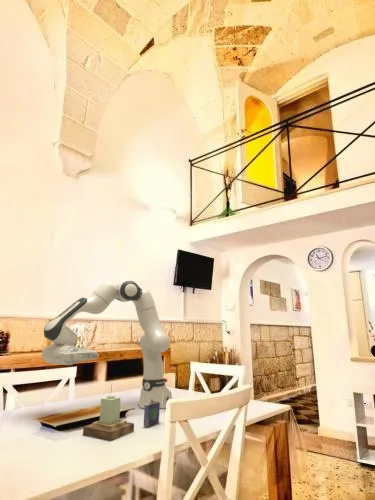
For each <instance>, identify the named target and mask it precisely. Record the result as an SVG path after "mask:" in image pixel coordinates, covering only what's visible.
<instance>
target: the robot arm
mask: <svg viewBox="0 0 375 500" xmlns="http://www.w3.org/2000/svg"><path fill="white" fill-rule="evenodd" d="M115 299H116V300H117V301H120V302H132V303H133V304H134V306H135V311H136V315H137V319H138V323H139V326H140V327H141V329H142V330H143V332H144V333H143V334H142V336H141V337H140V339H139V344H140V345H139V346H140V348H141V351H142V352H141V353H142V359H143V377H142V380H141V385H142V387H141V389H140V395H139V402H137V405H138V407H139V408H141V409H144V405H145V404H148V403H150V400H151V398H152V399H154V400H153V401H158V402H160V407H159V409H167V408H166V403H167V401H168V400H169V399H172V400H173V398H172V392H171V390H170V389H169V388H168V387H167V386H166V383H168V381H169V380H168V378H165V377H164V373H165V372H164V370H165V369H164V365H165V363H164V361H163V357H162V354H161V353H164V352H167V350H168V349H169V348H170V347H171V339H170V337H169V335H168V334H167V333H166V332H165V329H164V328H163V326H162V323H161V321H160V318H159V315H158V312H157V307H156V304H155V300H154V298H153V296H152V294H151V291H149V290H148V289H142V288H141V287H140V286H139V285H138V283H136V282H135V281H132V280H126V281H123V282H121V283H118V284H115V283H114V282H113V281H110V280H106V281H104V282H103V283H102V284H100V285H99V286H98V287H97V288H95V290H94V291H93V292H92V293H91V294H90V295H88V296H86V297H81V298H79V299H77V300H76V301H75V302H73V303H72V304H71V305H69V306H68V307H67V308H66V309H64V310H63V311H62V312H61V313H60V314H59V315H57V316H55V318H53V319H51V320H49V321H48V322H47V323H46V324H45V325H44V328H43V335H44V338H45V339H47V340H49V341H51V342H52V343H51V344H50V345H47V346H45V347H44V348H42V350H41V357H42V359H43V361H44V362H46V363H48V364H53V365H62V366H63V365H65V366H73V365H74V364H76V363H80V362H84V361H89V360H94V359H95V360H96V359H99V354H98V351H96V350H93V349H86V348H85V347H78V346H77V344H78V334H77V333H76V332H75V331H73V330H72V329H71V328H69V327H68V326H67V325H66V324H67V323H68V322H69V321H70V320H71V319H73V318H74V317H75V316H76V315H77V314H79V313H82V312H83V313H87V314H91V315H99V314H102V313H103V312H104V311H106V309H107V308H108V307H109V306H110V305H111V304H112V302H113V301H115ZM149 399H150V400H149Z"/></svg>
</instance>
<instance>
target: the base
mask: <svg viewBox="0 0 375 500" xmlns="http://www.w3.org/2000/svg"><path fill="white" fill-rule="evenodd" d="M99 422H100V420H96V421H94V422H92V423H91V424H88V425H85V426H83V427H82V428H83V429H82V431H83V432H82V436H84V437H91V438H93V439H94V438H95V439H99V440H103V441H107V442H112V441H115V440H117V439H119V438H121V437H124V436H126V435H129V434H131V433H134V431H135V423H134V422H130V421H127V420H126V419H125V420H124V419H120V418H119V422H118V423H116V424H113V425H106V424H100V423H99Z"/></svg>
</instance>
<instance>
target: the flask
mask: <svg viewBox="0 0 375 500" xmlns="http://www.w3.org/2000/svg"><path fill="white" fill-rule="evenodd" d="M149 400H150V399H149ZM153 400H154V399H152V398H151V400H150V403H148V404H145V405H144V408H143V409H144V412H143V428H145V429H148V428H151V427H154V426H156V425H159V424H160V408H159V407H160V402H158V401H153Z"/></svg>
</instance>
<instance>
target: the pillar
mask: <svg viewBox="0 0 375 500" xmlns="http://www.w3.org/2000/svg"><path fill="white" fill-rule="evenodd" d="M99 409H100V410H99V421H100V422H99V423H100V424H106V425H113V424H116V423H118V422H119V419H120V417H121V416H120V413H121V397H118V396H115V395H108V396H106V397H101V398H100V408H99Z"/></svg>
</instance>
